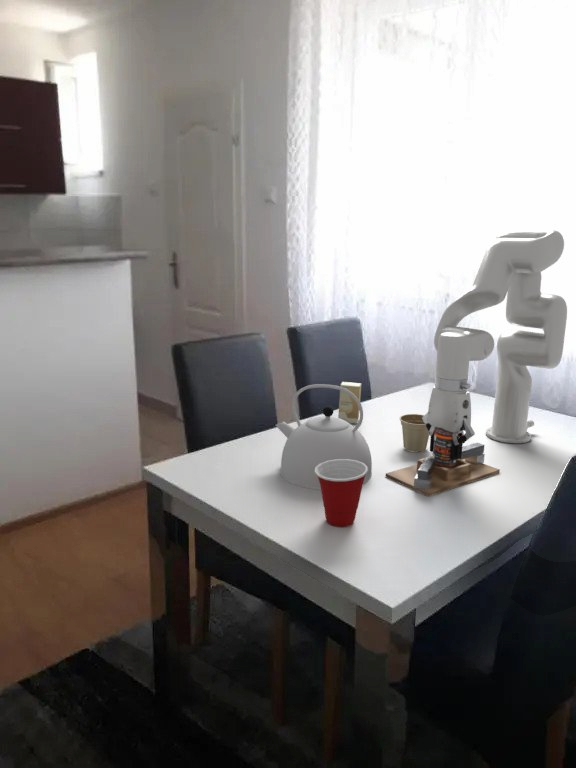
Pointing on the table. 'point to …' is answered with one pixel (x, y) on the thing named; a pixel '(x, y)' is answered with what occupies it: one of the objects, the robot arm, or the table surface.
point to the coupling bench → (443, 475)
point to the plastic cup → (341, 489)
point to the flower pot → (414, 432)
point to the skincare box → (349, 402)
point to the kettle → (321, 444)
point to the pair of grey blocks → (423, 477)
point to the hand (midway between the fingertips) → (445, 453)
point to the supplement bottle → (443, 448)
